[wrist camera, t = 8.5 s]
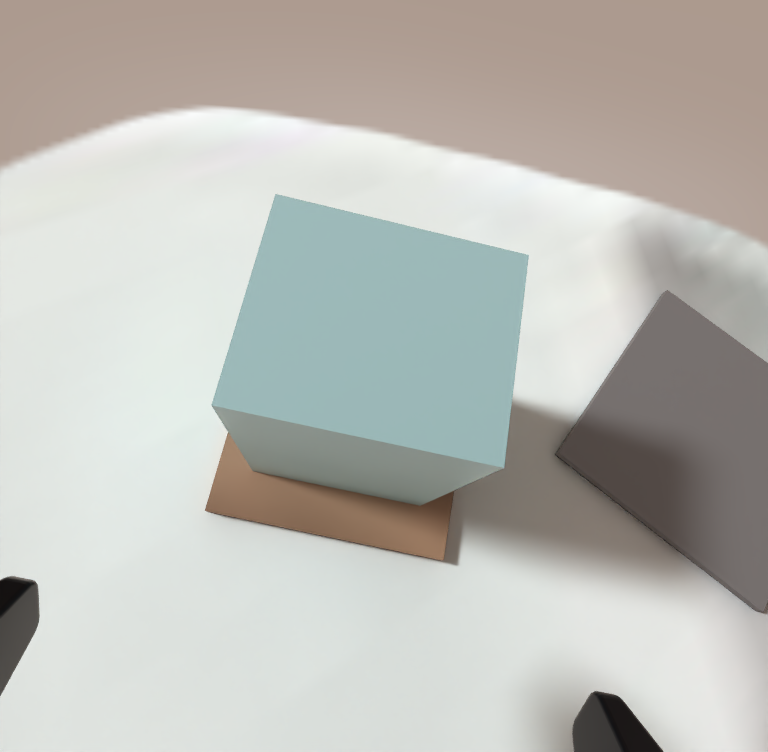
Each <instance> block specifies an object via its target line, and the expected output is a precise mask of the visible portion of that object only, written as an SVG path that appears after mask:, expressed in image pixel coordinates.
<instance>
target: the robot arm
mask: <svg viewBox="0 0 768 752" xmlns="http://www.w3.org/2000/svg"><path fill="white" fill-rule="evenodd" d="M38 623H39V595H38V585H37V583H36V582H35V581H33V580H30V579H25V578H20V577H15V576H10V577H6V578H3V579H1V580H0V696H1V694H2V692H3V690H4V688H5V687H6V685H7V683H8V681H9V679H10V677H11V676H12V674H13V672H14V670H15V668H16V666H17V665H18V663H19V661H20V659H21V657H22V655H23V654H24V652H25V650H26V648H27V646H28V644H29V643H30V641H31V639H32V637H33V635H34V633H35V631H36V629H37V626H38ZM572 735H573V745H574V752H663V750H662V749H661V748H660V747H659V745H658V744H657V743H656V742H655V740H654V739H653V738H652V736H651V735H650V734H649V733H648V731H647V730H646V729H645V728H644V726H643V725H642V724H641V723H640V721H639V720H638V719H637V718H636V716H635V715H634V714H633V712H632V711H631V710H630V709H629V707H628V706H627V705H626V704H625V702H624V701H623V700H622V699H621V698H620V697H618V696H616V695H614V694H609V693H604V692H599V691H595V692H593V693H591V694H590V696H589V697H588V699H587V700H586V702H585V704H584V705H583V707H582V709H581V710H580V712H579V714H578V715H577V717H576V719H575V721H574V724H573V733H572Z"/></svg>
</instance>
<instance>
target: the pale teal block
mask: <svg viewBox="0 0 768 752" xmlns="http://www.w3.org/2000/svg"><path fill="white" fill-rule="evenodd" d="M528 257H529V255H526V254H522V253H518V252H514V251H509V250H505V249H501V248H497V247H493V246H489V245H485V244H480V243H476V242H472V241H468V240H464V239H460V238H456V237H451V236H447V235H443V234H439V233H435V232H431V231H427V230H422V229H418V228H414V227H410V226H406V225H402V224H398V223H393V222H389V221H385V220H381V219H377V218H373V217H369V216H364V215H360V214H356V213H352V212H348V211H344V210H340V209H335V208H331V207H327V206H323V205H319V204H315V203H311V202H306V201H302V200H298V199H294V198H290V197H286V196H282V195H277V194H275V198H274V201H273V204H272V208H271V211H270V214H269V217H268V221H267V224H266V227H265V231H264V234H263V237H262V241H261V244H260V247H259V250H258V254H257V257H256V260H255V264H254V267H253V270H252V274H251V277H250V280H249V284H248V287H247V290H246V293H245V297H244V300H243V303H242V307H241V310H240V313H239V317H238V320H237V323H236V326H235V330H234V333H233V336H232V340H231V343H230V346H229V350H228V353H227V356H226V359H225V363H224V366H223V369H222V373H221V376H220V379H219V383H218V386H217V389H216V392H215V396H214V399H213V402H212V407H213V408H214V410H215V412H216V413H217V415H218V416H219V418H220V420H221V421H222V423H223V424H224V426H225V428H226V429H227V431H228V432H229V434H230V436H231V437H232V439H233V440H234V442H235V444H236V445H237V447H238V448H239V450H240V452H241V453H242V455H243V456H244V458H245V460H246V461H247V463H248V464H249V466H250V468H251V469H252V471H255V472H260V473H264V474H269V475H274V476H279V477H284V478H288V479H293V480H298V481H303V482H308V483H313V484H317V485H322V486H327V487H332V488H337V489H342V490H346V491H351V492H356V493H361V494H366V495H370V496H375V497H380V498H385V499H390V500H395V501H399V502H404V503H409V504H414V505H419V506H421V505H423V504H425V503H428V502H430V501H432V500H434V499H436V498H439V497H441V496H443V495H445V494H448V493H450V492H452V491H454V490H456V489H459V488H461V487H463V486H465V485H468V484H470V483H472V482H474V481H476V480H479V479H481V478H483V477H485V476H488V475H490V474H492V473H494V472H497V471H499V470H501V469H503V468H504V466H505V457H506V448H507V440H508V431H509V422H510V414H511V405H512V396H513V387H514V379H515V370H516V361H517V353H518V344H519V335H520V326H521V318H522V309H523V300H524V292H525V283H526V274H527V265H528Z"/></svg>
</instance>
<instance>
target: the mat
mask: <svg viewBox="0 0 768 752" xmlns="http://www.w3.org/2000/svg"><path fill="white" fill-rule="evenodd" d="M555 455H556V456H558V457H559V458H560V459H562V460H563V461H564V462H565V463H567V464H568V465H569V466H571V467H572V468H573V469H574V470H576V471H577V472H578V473H580V474H581V475H582V476H583V477H585V478H586V479H587V480H588V481H590V482H591V483H592V484H594V485H595V486H596V487H597V488H599V489H600V490H601V491H603V492H604V493H605V494H606V495H608V496H609V497H610V498H612V499H613V500H614V501H615V502H617V503H618V504H619V505H620V506H622V507H623V508H624V509H626V510H627V511H628V512H629V513H631V514H632V515H633V516H635V517H636V518H637V519H638V520H640V521H641V522H642V523H644V524H645V525H646V526H647V527H649V528H650V529H651V530H652V531H654V532H655V533H656V534H658V535H659V536H660V537H661V538H663V539H664V540H665V541H667V542H668V543H669V544H670V545H672V546H673V547H674V548H676V549H677V550H678V551H679V552H681V553H682V554H683V555H684V556H686V557H687V558H688V559H690V560H691V561H692V562H693V563H695V564H696V565H697V566H699V567H700V568H701V569H702V570H704V571H705V572H706V573H708V574H709V575H710V576H711V577H713V578H714V579H715V580H716V581H718V582H719V583H720V584H722V585H723V586H724V587H725V588H727V589H728V590H729V591H731V592H732V593H733V594H734V595H736V596H737V597H738V598H740V599H741V600H742V601H743V602H745V603H746V604H747V605H748V606H750V607H751V608H752V609H754V610H755V611H759V612H764V609H765V607H766V605H767V603H768V363H767V362H765V361H764V360H763V359H761V358H760V357H758V356H757V355H756V354H754V353H753V352H752V351H750V350H749V349H748V348H746V347H745V346H743V345H742V344H741V343H739V342H738V341H737V340H735V339H734V338H732V337H731V336H730V335H728V334H727V333H726V332H724V331H723V330H722V329H720V328H719V327H717V326H716V325H715V324H713V323H712V322H711V321H709V320H708V319H706V318H705V317H704V316H702V315H701V314H700V313H698V312H697V311H695V310H694V309H693V308H691V307H690V306H689V305H687V304H686V303H685V302H683V301H682V300H680V299H679V298H678V297H676V296H675V295H674V294H672V293H671V292H669V291H668V290H667V291H665V292H664V293H663V294H662V295H661V296H660V298H659V299H658V301H657V302H656V304H655V305H654V307H653V308H652V310H651V311H650V313H649V314H648V316H647V317H646V319H645V320H644V322H643V323H642V325H641V326H640V328H639V329H638V331H637V332H636V334H635V335H634V337H633V338H632V340H631V341H630V343H629V344H628V346H627V347H626V349H625V350H624V352H623V353H622V355H621V356H620V358H619V359H618V361H617V362H616V364H615V365H614V367H613V368H612V370H611V371H610V373H609V374H608V376H607V377H606V379H605V380H604V382H603V383H602V385H601V386H600V388H599V389H598V391H597V392H596V394H595V395H594V397H593V398H592V400H591V401H590V403H589V405H588V406H587V408H586V409H585V411H584V412H583V414H582V415H581V417H580V418H579V420H578V421H577V423H576V424H575V426H574V427H573V429H572V430H571V432H570V433H569V435H568V436H567V438H566V439H565V441H564V442H563V444H562V445H561V447H560V448H559V450H558V451H557V453H556V454H555Z"/></svg>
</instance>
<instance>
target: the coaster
mask: <svg viewBox="0 0 768 752" xmlns="http://www.w3.org/2000/svg"><path fill="white" fill-rule="evenodd" d="M453 493H454V491H452V492H450V493H448V494H445V495H443V496H441V497H439V498H436V499H434V500H432V501H430V502H428V503H425V504H423V505H421V506H419V505H414V504H409V503H404V502H399V501H395V500H390V499H385V498H380V497H375V496H370V495H366V494H361V493H356V492H351V491H346V490H342V489H337V488H332V487H327V486H322V485H317V484H313V483H308V482H303V481H298V480H293V479H288V478H284V477H279V476H274V475H269V474H264V473H260V472H255V471H252V469H251V468H250V466H249V464H248V463H247V461H246V460H245V458H244V456H243V455H242V453H241V452H240V450H239V448H238V447H237V445H236V444H235V442H234V440H233V439H232V437H231V436H230V434H229V432H228V434H227V438H226V441H225V444H224V448H223V451H222V455H221V458H220V461H219V465H218V468H217V471H216V475H215V478H214V482H213V485H212V488H211V492H210V495H209V499H208V502H207V505H206V509H205V511H207V512H211V513H216V514H221V515H226V516H230V517H235V518H240V519H245V520H249V521H254V522H259V523H264V524H269V525H273V526H278V527H283V528H288V529H293V530H297V531H302V532H307V533H312V534H316V535H321V536H326V537H331V538H336V539H340V540H345V541H350V542H355V543H359V544H364V545H369V546H374V547H379V548H383V549H388V550H393V551H398V552H403V553H407V554H412V555H417V556H422V557H426V558H431V559H436V560H444V553H445V547H446V540H447V533H448V527H449V520H450V513H451V507H452V500H453Z"/></svg>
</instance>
